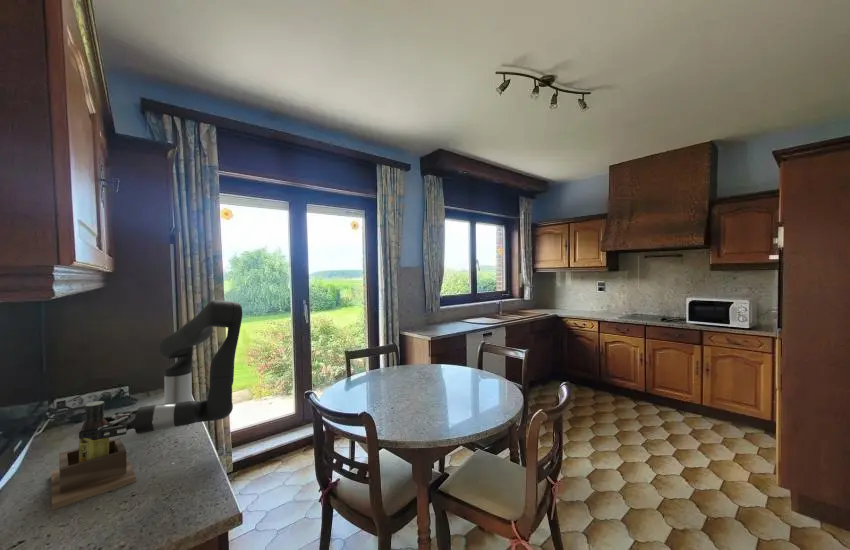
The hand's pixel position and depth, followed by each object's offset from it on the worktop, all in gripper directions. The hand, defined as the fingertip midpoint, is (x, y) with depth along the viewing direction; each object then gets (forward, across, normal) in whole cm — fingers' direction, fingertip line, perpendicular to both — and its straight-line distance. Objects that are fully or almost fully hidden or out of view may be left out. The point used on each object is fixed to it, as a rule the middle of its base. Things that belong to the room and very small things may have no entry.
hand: (86, 428), depth 98 cm
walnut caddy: (-2, 0, +14) cm, 15 cm away
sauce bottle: (-2, 0, +13) cm, 13 cm away
